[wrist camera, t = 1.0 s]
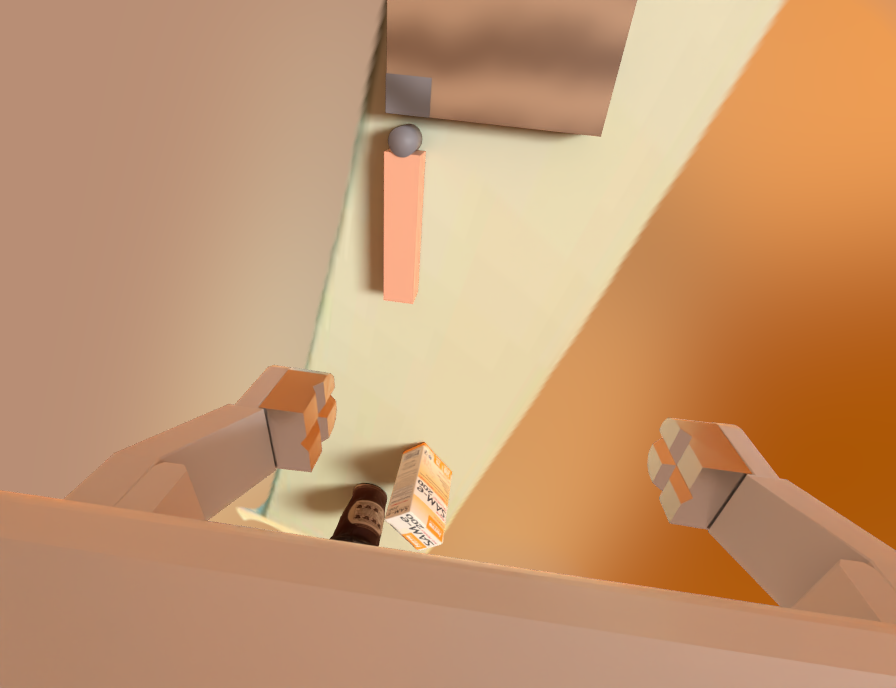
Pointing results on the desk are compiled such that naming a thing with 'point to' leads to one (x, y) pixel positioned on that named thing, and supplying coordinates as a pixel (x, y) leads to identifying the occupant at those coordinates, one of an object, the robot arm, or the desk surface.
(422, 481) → the supplement box
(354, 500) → the coffee cup
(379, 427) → the desk surface
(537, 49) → the seat block
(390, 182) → the stool leg
